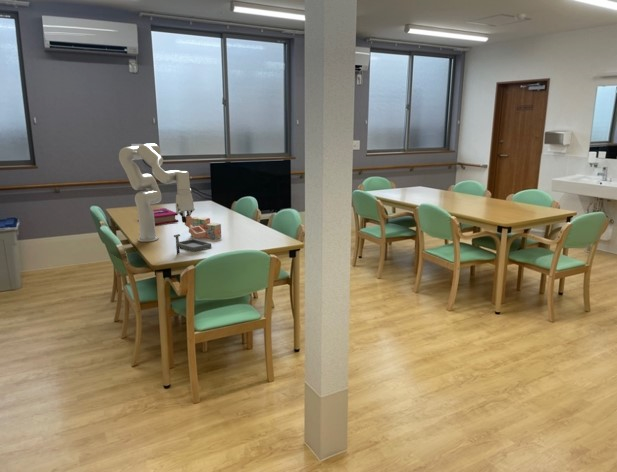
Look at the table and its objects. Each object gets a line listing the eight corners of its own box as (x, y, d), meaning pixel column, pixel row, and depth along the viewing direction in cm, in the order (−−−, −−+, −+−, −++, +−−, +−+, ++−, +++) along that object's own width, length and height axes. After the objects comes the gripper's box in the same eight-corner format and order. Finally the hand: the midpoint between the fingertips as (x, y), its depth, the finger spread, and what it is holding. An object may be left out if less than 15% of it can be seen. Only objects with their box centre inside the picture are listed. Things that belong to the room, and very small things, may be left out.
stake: (175, 253, 269) (173, 235, 266) (180, 252, 271) (178, 234, 269) (176, 254, 268) (175, 235, 265) (181, 252, 270) (180, 234, 268)
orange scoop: (181, 225, 281) (182, 216, 278) (191, 223, 286) (192, 214, 283) (195, 238, 274) (197, 229, 271) (205, 235, 279) (206, 227, 276)
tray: (176, 246, 284) (175, 242, 284) (193, 242, 293) (193, 238, 293) (194, 251, 272) (193, 247, 272) (211, 247, 282) (211, 243, 281)
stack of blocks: (221, 237, 306) (220, 219, 303) (215, 239, 301) (214, 221, 298) (197, 233, 316) (196, 216, 313) (190, 235, 311) (189, 217, 308)
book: (151, 226, 342) (150, 216, 340) (139, 220, 364) (138, 210, 362) (179, 222, 355) (178, 212, 353) (165, 216, 376) (164, 207, 374)
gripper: (191, 189, 287) (193, 219, 292) (168, 193, 276) (171, 223, 280) (198, 190, 282) (201, 220, 287) (175, 194, 271) (178, 225, 275)
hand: (186, 221), depth 283 cm, fingers closed on orange scoop
